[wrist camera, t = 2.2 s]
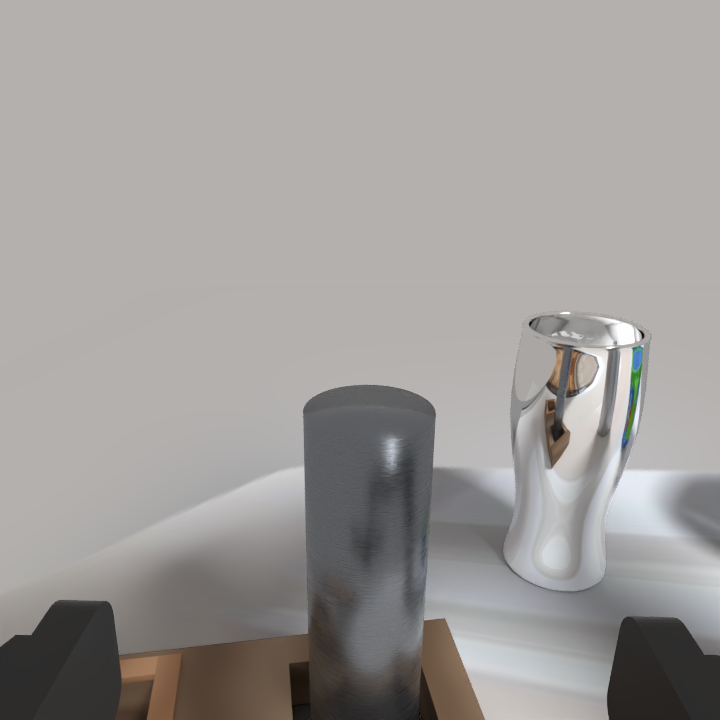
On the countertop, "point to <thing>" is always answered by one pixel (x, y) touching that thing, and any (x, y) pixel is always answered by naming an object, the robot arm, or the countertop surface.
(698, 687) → the robot arm
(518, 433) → the beer glass
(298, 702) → the wooden peg holder
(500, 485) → the countertop surface
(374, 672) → the metal peg
